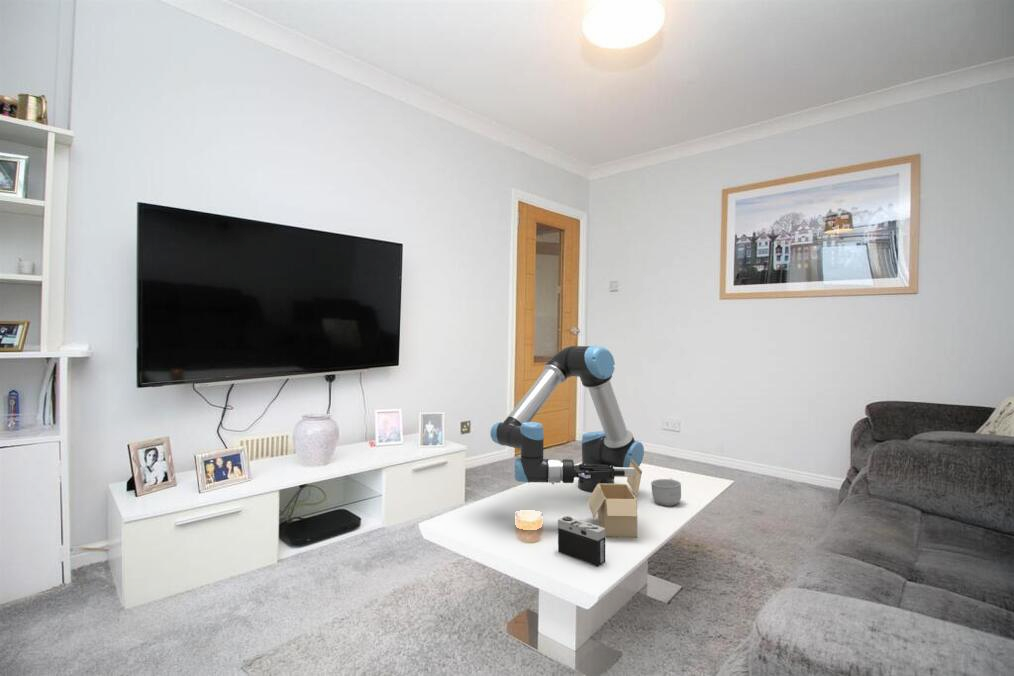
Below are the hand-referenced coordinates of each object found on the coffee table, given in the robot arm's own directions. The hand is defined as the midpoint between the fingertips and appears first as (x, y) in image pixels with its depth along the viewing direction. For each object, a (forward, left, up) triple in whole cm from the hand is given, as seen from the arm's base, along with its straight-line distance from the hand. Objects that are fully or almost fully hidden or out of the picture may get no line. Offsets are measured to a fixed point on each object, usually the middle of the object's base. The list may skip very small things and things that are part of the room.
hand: (634, 472), depth 158 cm
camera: (-8, -25, -19) cm, 33 cm away
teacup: (+4, +33, -19) cm, 38 cm away
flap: (-1, +1, -6) cm, 6 cm away
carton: (-7, -2, -19) cm, 20 cm away
